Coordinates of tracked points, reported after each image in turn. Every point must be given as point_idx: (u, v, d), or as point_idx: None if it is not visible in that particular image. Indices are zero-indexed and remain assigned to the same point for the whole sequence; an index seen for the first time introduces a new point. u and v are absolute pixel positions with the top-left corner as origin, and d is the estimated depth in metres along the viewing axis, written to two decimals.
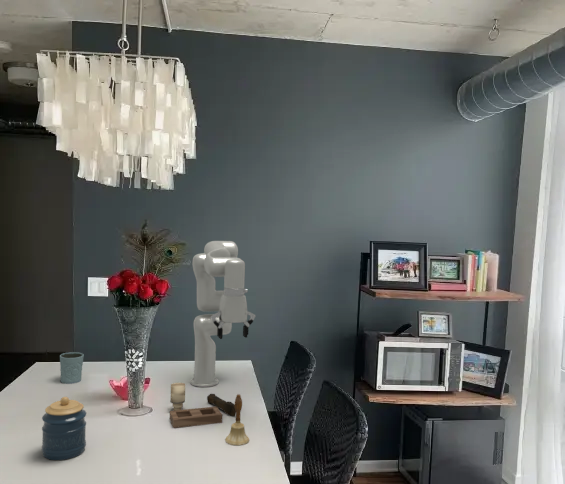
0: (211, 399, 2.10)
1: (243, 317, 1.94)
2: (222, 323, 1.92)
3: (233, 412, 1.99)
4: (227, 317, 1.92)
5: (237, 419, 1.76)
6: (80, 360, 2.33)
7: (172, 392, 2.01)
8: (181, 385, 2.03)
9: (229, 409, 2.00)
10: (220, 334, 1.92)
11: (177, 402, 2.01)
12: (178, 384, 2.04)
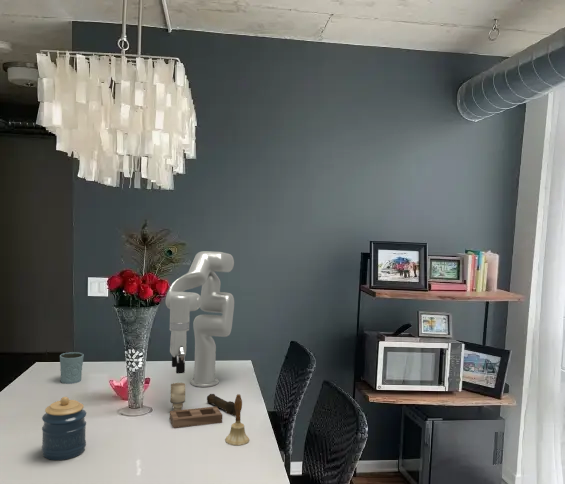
0: (211, 399, 2.10)
1: None
2: None
3: (235, 412, 1.99)
4: None
5: (237, 419, 1.76)
6: (80, 360, 2.33)
7: (172, 392, 2.01)
8: (181, 385, 2.03)
9: (231, 409, 2.00)
10: (183, 368, 1.98)
11: (177, 402, 2.01)
12: (178, 384, 2.04)
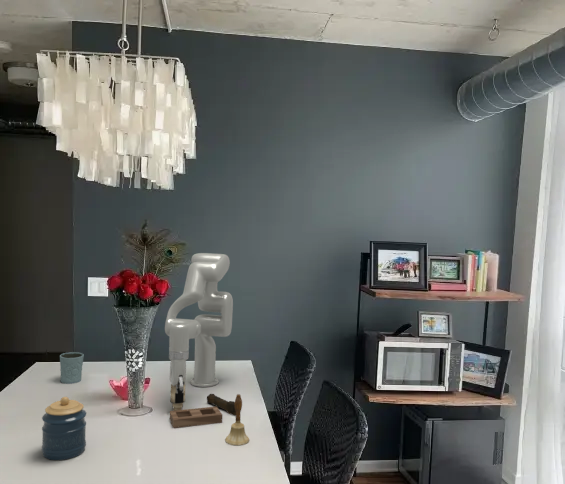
0: (211, 399, 2.10)
1: None
2: None
3: None
4: None
5: (237, 419, 1.76)
6: (80, 360, 2.33)
7: (172, 392, 2.01)
8: None
9: (232, 408, 2.00)
10: (182, 398, 2.01)
11: None
12: (178, 384, 2.04)
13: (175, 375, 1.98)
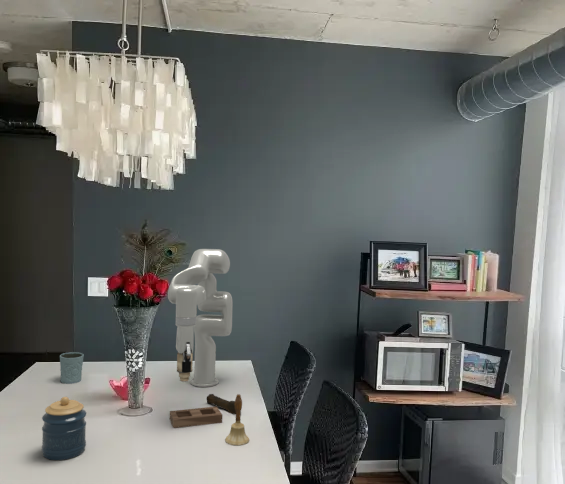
0: (211, 399, 2.10)
1: None
2: None
3: None
4: None
5: (237, 419, 1.76)
6: (80, 360, 2.33)
7: (179, 361, 1.89)
8: None
9: (234, 408, 2.01)
10: (189, 367, 1.88)
11: None
12: None
13: (182, 342, 1.85)
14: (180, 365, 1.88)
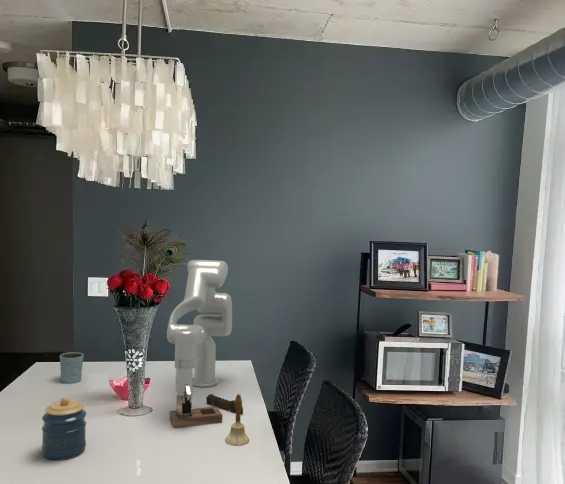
0: (211, 399, 2.10)
1: None
2: (190, 396, 1.88)
3: None
4: None
5: (237, 419, 1.76)
6: (80, 360, 2.33)
7: (178, 403, 1.89)
8: None
9: None
10: (189, 408, 1.87)
11: (183, 414, 1.89)
12: None
13: (181, 385, 1.86)
14: (179, 408, 1.89)
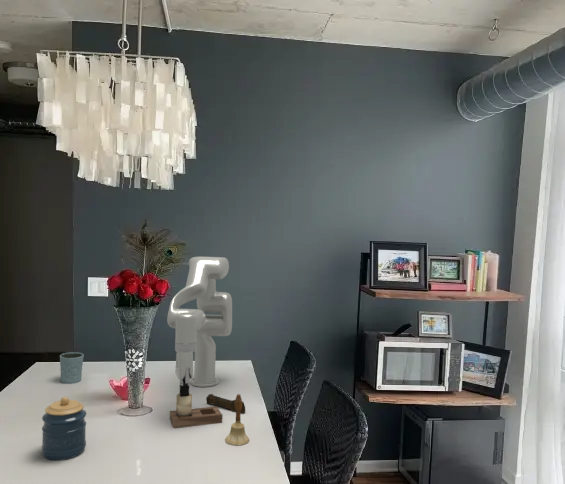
0: (212, 399, 2.10)
1: None
2: None
3: (243, 409, 2.02)
4: None
5: (237, 419, 1.76)
6: (80, 360, 2.33)
7: (178, 403, 1.89)
8: (187, 396, 1.91)
9: None
10: (187, 391, 1.91)
11: (183, 414, 1.89)
12: None
13: (182, 368, 1.85)
14: (179, 408, 1.89)
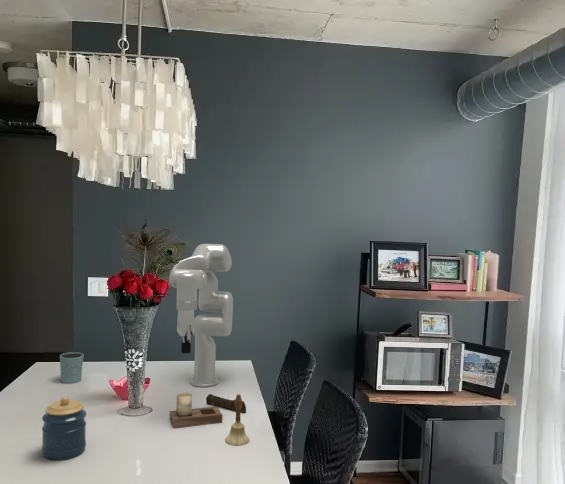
0: (212, 399, 2.10)
1: None
2: None
3: (243, 409, 2.02)
4: None
5: (237, 419, 1.76)
6: (80, 360, 2.33)
7: (178, 403, 1.89)
8: (187, 396, 1.91)
9: None
10: (189, 348, 1.97)
11: (183, 414, 1.89)
12: (184, 395, 1.92)
13: (183, 325, 1.91)
14: (179, 408, 1.89)
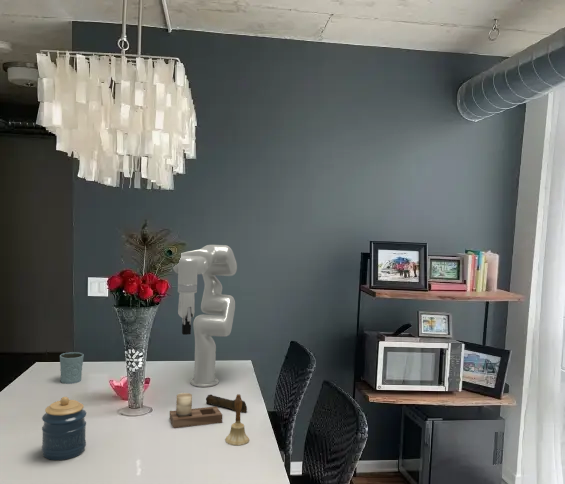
0: (212, 400, 2.10)
1: None
2: None
3: (244, 409, 2.03)
4: None
5: (237, 419, 1.76)
6: (80, 360, 2.33)
7: (178, 403, 1.89)
8: (187, 396, 1.91)
9: None
10: (189, 330, 2.07)
11: (183, 414, 1.89)
12: (184, 395, 1.92)
13: (184, 307, 2.02)
14: (179, 408, 1.89)
